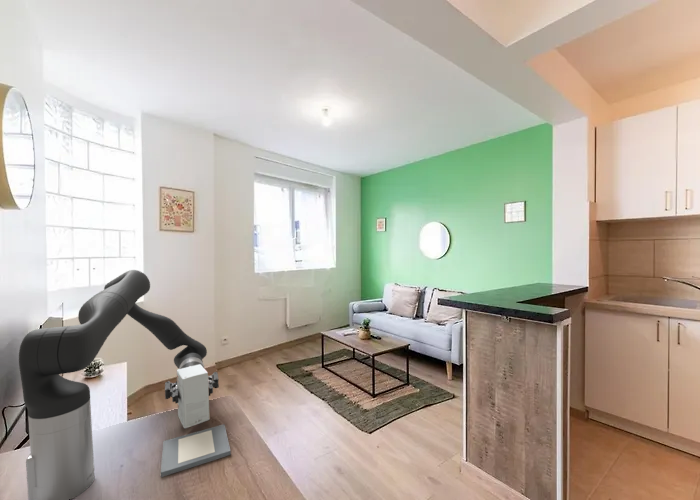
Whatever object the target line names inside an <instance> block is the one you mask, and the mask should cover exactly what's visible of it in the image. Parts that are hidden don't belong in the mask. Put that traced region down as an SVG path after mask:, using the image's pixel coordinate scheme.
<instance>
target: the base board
mask: <svg viewBox="0 0 700 500" xmlns="http://www.w3.org/2000/svg"><path fill="white" fill-rule="evenodd" d="M226 430H227V429H226V425H225V423H223V424H220V425H216V426H213V427H208V428H206V429H203V430H198V431H194V432H191V433H188V434H185V435H179V436H177V437H173V438H170V439H165V440H163V441H162V442H163V443H162V454H161V455H162V456H161V466H160V478H164V477H166V476H170V475H172V474H175V473H178V472H181V471H186V470H189V469H192V468H194V467H197V466H201V465H203V464H206V463H209V462H213V461H216V460H219V459H222V458H225V457H227V456H228V457H229V456H231V455H232V454H231V451H232V450H231V447H230V443H229V439H228V435H227V431H226Z"/></svg>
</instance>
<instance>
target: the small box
mask: <svg viewBox="0 0 700 500" xmlns="http://www.w3.org/2000/svg"><path fill="white" fill-rule="evenodd" d="M208 376H209V372H208V371H207V369H204V368H203V366H202V365H201V364H199V365H195V366H190V367H186V368H182V369H179V368H178V369H176V381H177V388H178V396H179V400H178V403H177V417H178V419H179V421H180V423H181V426H182V427H183V429H188V428H190V427H193V426H196V425H199V424H202V423H206V422H207V421H209V420H210V396H209V387H208Z"/></svg>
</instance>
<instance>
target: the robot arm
mask: <svg viewBox="0 0 700 500" xmlns="http://www.w3.org/2000/svg"><path fill="white" fill-rule="evenodd" d="M150 290H151V282H150V280H149V277H148V276H147V275H146V274H145V273H144V272H142V271H140V270H137V269H129V270H126V271H125V272H123V273H122V274H120V275H118V276H117V277H116V278H114V279H111V280H110V281H109V282H108V283H106V284H105V285H104V288H103V290H101V291H99V292H98V293H96V294H95V295H93V296H92V297H91V298H89V299H88V300H87V301H85V303H83V304H82V306H81V307H80V309H79V310H78V316H77V317H78V318H77V319H78V322H79V324H76V325H65V326H55V327H42V328H37V329H36V328H35V329H34V330H31V331H29V332H28V333H27V334H25V336H24V337H23V338H22V341H21V343H20V345H19V350H18V366H19V367H18V369H19V373H20V381H21V388H22V395H23V403H24V405H25V407H26V409H27V419H28V434H29V449H30V450H29V451H30V453H29V455H28V456H27V458H26V460H25V467H26V470H25V471H26V484H27V500H69V499H70V500H72V499H74V498H76V497H78V496H80V494H82V493H84V492H85V491H86V490H87V489H88V488H89V487H90V486H91V485H92V484H93V482H94V480H95V463H94V461H95V460H94V444H93V443H94V442H93V426H92V409H91V408H92V407H91V406H92V405H91V389H90V386H89V385H88V384H86V383H84V382H82V381H81V382H80V381H74V380H70V379H67V378H66V377H63V376H61V375H62V374H64V375H65V374H71V373H77V372H79V371H82V370H85V369H86V368H87V367H89V366H90V365H91V364H92V363H93V362H94V361H95V359H96V357H97V355H98V354H99V352H100V350H101V348H103V345H104V343H105V342H106V341H107V339H108V337H109V336H110V335H111V333H112V332H113V331H114V330H115V328H116V327H117V326H119V324H120V323H121V322H122V321H123V320H124V318H125V317H126V316H127V315H128V316H129V317H130V318H131V319H132V320H134V321H136V322H137V323H139V324H140V325H141V326H143V328H146V329H147V330H148V331H149V332H150V333H151V334H153V336H155V338H156V339H157V340H158V341H159V342H160V343H161V344H162V345H163V346H164V347H165V348H166V349H167V350H168V351H169V350H170V351H172V350H175V349H177V348H179V347H181V346H186V347H184V348H183V349H181V350H180V351H179V352H178V353H177V354H175V356H174V357H173V363H174V365H175V366H176V367H177V368H178V369H182V368H186V367H190V366H195V365H199V364H201V365H202V366H203V368H204V369H205V365H204V361H203V359H204V358H205V357H206V356H207V355H208V352H207V347H206V346H205V345H204V344H203V343H202V342H200V341H198V340H196V339H195V338H192V337H191V336H189V335H188V334H186V333H185V332H184V331H183V330H182V328H181V327H180V326H179V325H178V324H177V323H176V322H175V321H174V320H173V319H171V318H170V317H167V316H165V315H161V314H160V313H155V312H152V311H149V310H146V309H144V308H142V307H140V306H139V305H138V304H137V302H138V300H139V299H141V298H142V297H143V296H145V295H146V294H147V293H149V291H150ZM205 370H206V369H205ZM219 379H220V378H219V374H218V372H217V371H214V372H213V373H212V374H211V375H208V387H209V397H210V396H211V394H213V393H214V389H218V388H219V385H220V384H219ZM171 398H172V403H175V404H178V400H179V396H178V388H177V380H176V381H175V382H171V381H169V380H167V381H166V382H165V383H164V399H165V400H169V399H171Z"/></svg>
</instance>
